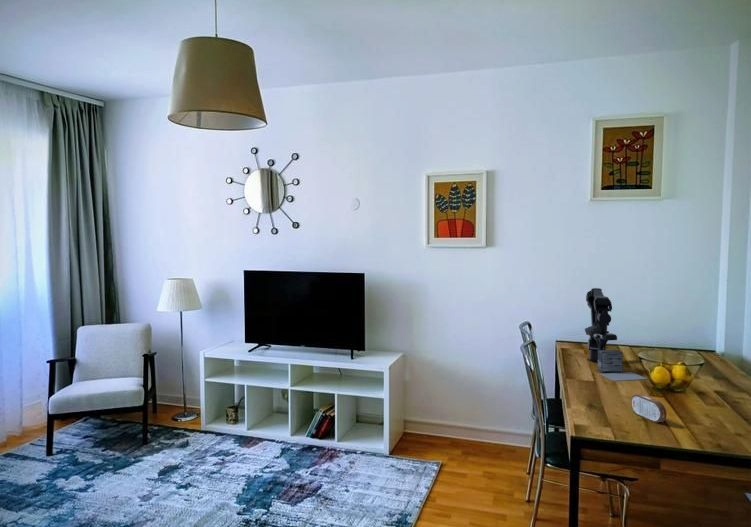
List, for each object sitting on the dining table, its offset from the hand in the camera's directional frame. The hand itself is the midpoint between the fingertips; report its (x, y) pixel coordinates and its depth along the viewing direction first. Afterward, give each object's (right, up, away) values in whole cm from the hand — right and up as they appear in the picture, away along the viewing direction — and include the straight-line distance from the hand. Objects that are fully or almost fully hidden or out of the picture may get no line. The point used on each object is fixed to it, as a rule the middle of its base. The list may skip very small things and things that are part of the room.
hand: (600, 350), depth 268 cm
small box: (+2, -10, -8) cm, 12 cm away
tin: (-15, -14, -74) cm, 76 cm away
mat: (+3, -10, -17) cm, 20 cm away
